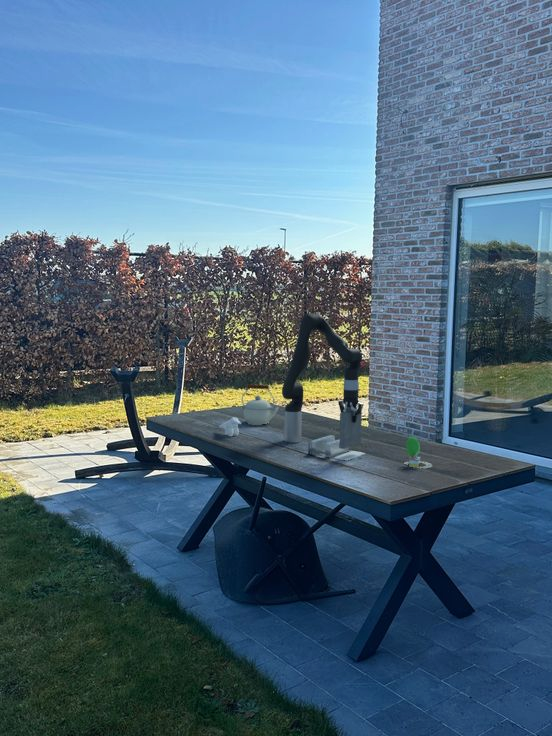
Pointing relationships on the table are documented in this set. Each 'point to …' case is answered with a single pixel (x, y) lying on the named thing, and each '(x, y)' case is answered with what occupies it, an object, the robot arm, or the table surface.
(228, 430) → the white dinosaur figurine
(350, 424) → the hip flask
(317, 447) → the vise
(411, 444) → the train set
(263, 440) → the table surface
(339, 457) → the mat
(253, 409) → the kettle
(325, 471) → the table surface
